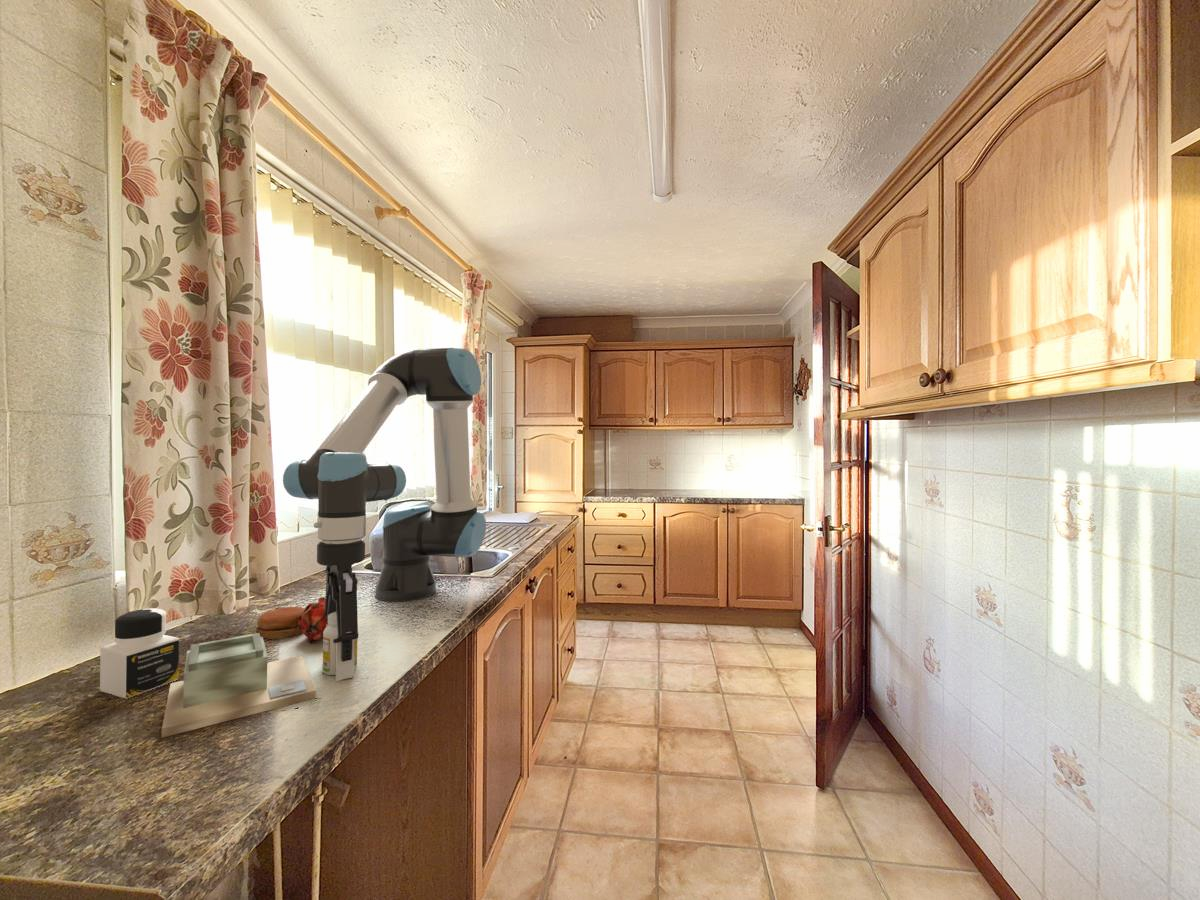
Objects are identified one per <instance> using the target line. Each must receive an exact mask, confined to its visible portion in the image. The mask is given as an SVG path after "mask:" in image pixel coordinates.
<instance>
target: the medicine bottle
mask: <svg viewBox="0 0 1200 900" xmlns="http://www.w3.org/2000/svg"><path fill="white" fill-rule="evenodd" d="M114 623H115V624H114V633H115V634H114V642H113V643H110V644H105V645H103V646H102V647H100V653H99V654H100V661H99V662H100V663H99V665H100V666H99V671H100V672H99V673H100V674H99V676H100V677H99V691H100V692H102V693H106V694H108V695H111V694H112V696H115V697H118V698H122V699H124V698H125V700H128V698H129V699H132V698H134V697H133V696H135V695H137V696H139V695H138V694H140V695H142V694H141V693H143V692H145V693H147V692H146V691H148V692H150V691H153V690H156V689H158V688H161V687H163V685H164V686H166V685H169V684H171V683H170V682H172V683H174V682H177V681H178V680H179V678H180V677H179V675H180V664H179V663H180V660H179V659H180V638H179V637H176V636H171V635H167V634H166V631H167V612H166V611H165V610H163V609H161V608H155V607H154V608H153V607H152V608H142V609H136V610H133V611H132V610H131V611H128V612H125V613H124V614H122V615H120V616H118V617H117V618H116V619H115V621H114ZM176 680H177V681H176ZM173 681H174V682H173ZM168 683H169V684H168ZM165 684H166V685H165ZM160 686H161V687H160ZM157 687H158V688H157ZM155 688H156V689H155ZM152 689H153V690H152ZM149 690H150V691H149ZM143 694H144V693H143ZM131 697H132V698H131ZM135 697H136V696H135Z"/></svg>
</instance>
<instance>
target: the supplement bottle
mask: <svg viewBox="0 0 1200 900" xmlns="http://www.w3.org/2000/svg"><path fill="white" fill-rule="evenodd" d="M328 625H329V626H328V627H326V628H325V630H324V632H323V637H322V638H323V639H322V671H323V674H325V675H328V676H336V643H333V640H334V639H337V638H338V630H337V615H336V612H334V613H331V614H329V615H328ZM347 633H349V632H347ZM357 666H358V638H357V639H355V655H354V670H355V669H356V667H357Z"/></svg>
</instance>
